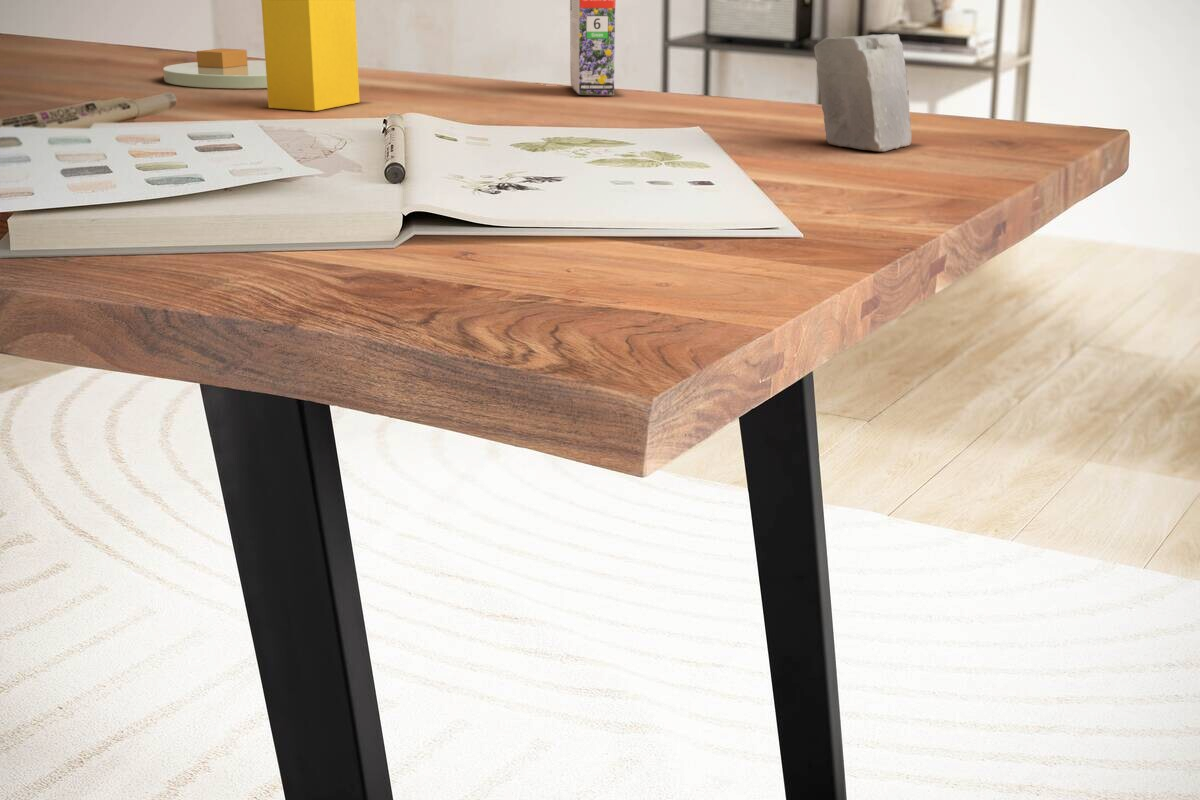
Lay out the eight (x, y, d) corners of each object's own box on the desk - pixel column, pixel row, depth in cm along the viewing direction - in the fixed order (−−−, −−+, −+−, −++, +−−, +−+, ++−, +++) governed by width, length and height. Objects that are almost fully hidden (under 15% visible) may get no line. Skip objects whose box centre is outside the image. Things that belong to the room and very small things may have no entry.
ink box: (605, 87, 126) (608, -71, 121) (616, 96, 118) (619, -72, 114) (568, 87, 125) (569, -72, 120) (576, 96, 118) (578, -73, 113)
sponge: (268, 108, 105) (258, -33, 102) (315, 99, 112) (307, -34, 108) (315, 111, 104) (307, -31, 100) (359, 102, 110) (354, -32, 106)
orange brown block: (197, 66, 125) (196, 51, 125) (222, 63, 129) (221, 48, 128) (223, 68, 124) (221, 52, 124) (247, 65, 128) (246, 49, 127)
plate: (131, 84, 120) (130, 71, 119) (212, 70, 135) (211, 58, 134) (292, 91, 117) (291, 78, 117) (355, 75, 132) (355, 63, 132)
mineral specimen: (924, 129, 95) (933, 21, 91) (890, 170, 89) (898, 55, 85) (829, 118, 98) (834, 13, 94) (789, 157, 92) (793, 45, 88)
